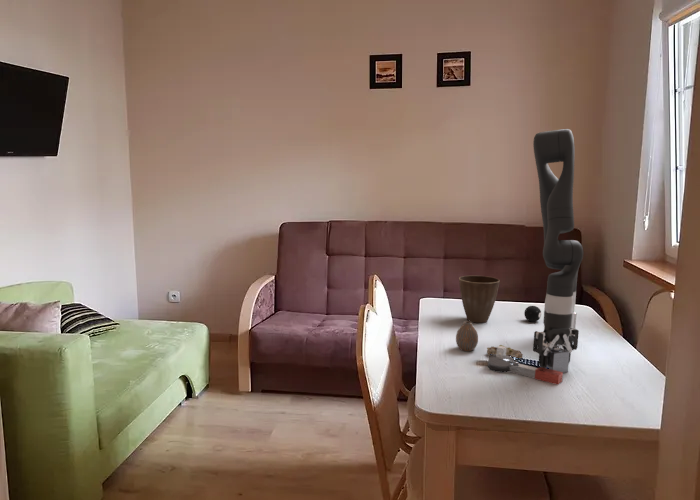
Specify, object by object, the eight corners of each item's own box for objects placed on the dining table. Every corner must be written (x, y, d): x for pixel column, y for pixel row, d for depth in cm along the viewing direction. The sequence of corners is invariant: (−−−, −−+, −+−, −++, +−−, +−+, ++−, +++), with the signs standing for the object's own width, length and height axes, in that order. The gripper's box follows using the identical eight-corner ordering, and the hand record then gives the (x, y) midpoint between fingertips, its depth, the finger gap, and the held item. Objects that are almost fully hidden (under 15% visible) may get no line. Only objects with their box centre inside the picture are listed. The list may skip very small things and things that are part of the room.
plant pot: (450, 321, 215) (453, 279, 212) (465, 313, 227) (467, 273, 225) (489, 328, 207) (492, 284, 205) (502, 319, 220) (504, 278, 217)
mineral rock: (486, 352, 173) (488, 338, 180) (484, 364, 174) (486, 350, 181) (523, 358, 170) (523, 343, 177) (521, 370, 171) (522, 355, 178)
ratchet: (494, 362, 170) (495, 342, 170) (564, 379, 158) (566, 357, 157) (483, 368, 165) (485, 347, 164) (555, 386, 152) (557, 364, 151)
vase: (477, 353, 178) (479, 326, 177) (455, 351, 180) (456, 324, 178) (477, 346, 185) (478, 320, 184) (455, 345, 186) (456, 318, 185)
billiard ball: (528, 318, 222) (529, 303, 221) (543, 321, 218) (544, 306, 217) (521, 321, 218) (522, 305, 217) (535, 324, 214) (537, 308, 213)
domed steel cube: (554, 365, 169) (556, 342, 168) (567, 372, 164) (569, 348, 163) (539, 367, 167) (541, 344, 166) (552, 374, 162) (554, 350, 161)
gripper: (569, 305, 169) (564, 359, 171) (529, 308, 163) (525, 363, 166) (588, 311, 162) (583, 367, 164) (546, 315, 157) (542, 372, 159)
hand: (554, 365), depth 165 cm, fingers open, 7 cm apart
